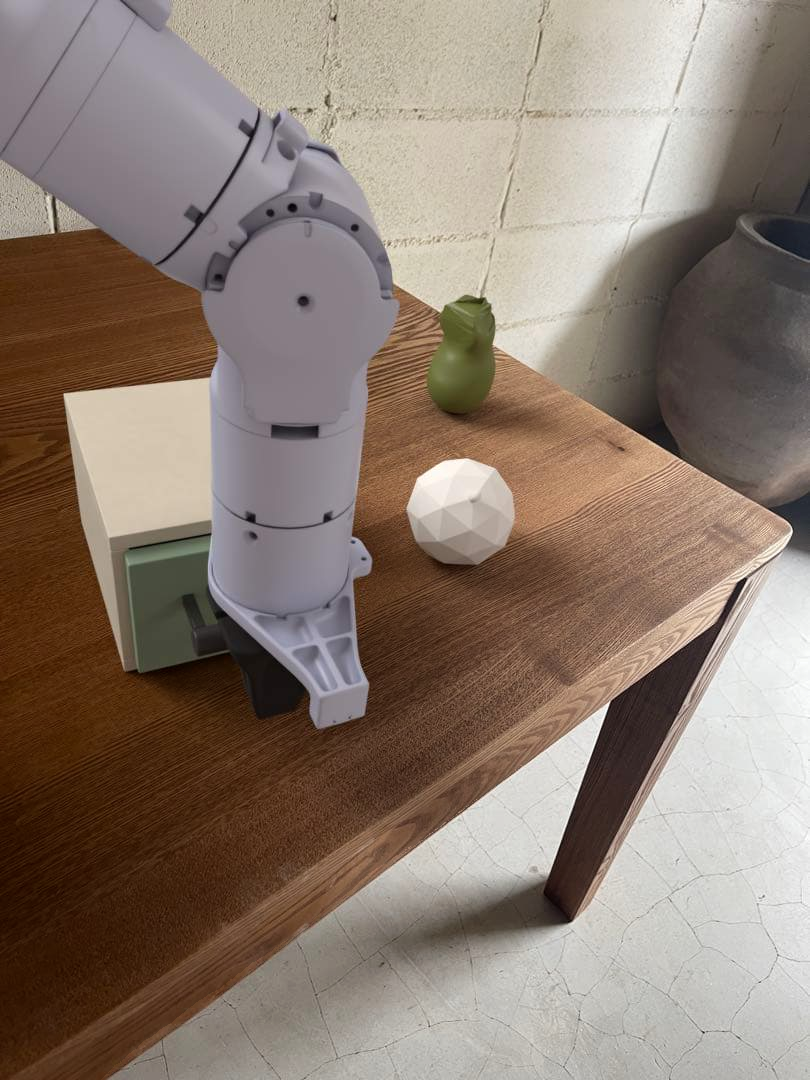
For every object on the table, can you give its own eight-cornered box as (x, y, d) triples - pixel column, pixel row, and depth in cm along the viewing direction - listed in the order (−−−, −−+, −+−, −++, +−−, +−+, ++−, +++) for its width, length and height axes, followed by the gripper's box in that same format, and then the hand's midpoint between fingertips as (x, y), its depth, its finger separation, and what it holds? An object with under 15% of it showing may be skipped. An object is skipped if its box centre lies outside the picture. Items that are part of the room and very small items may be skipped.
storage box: (323, 625, 53) (335, 498, 46) (124, 672, 48) (108, 537, 42) (254, 493, 62) (256, 372, 55) (81, 522, 57) (63, 393, 51)
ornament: (519, 537, 62) (554, 510, 54) (436, 594, 60) (460, 574, 52) (463, 458, 62) (490, 419, 54) (379, 511, 60) (394, 479, 53)
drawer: (346, 678, 48) (360, 574, 43) (155, 729, 44) (146, 620, 39) (256, 504, 59) (258, 405, 54) (96, 531, 55) (82, 427, 50)
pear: (497, 414, 74) (522, 306, 68) (454, 431, 71) (476, 320, 65) (452, 385, 77) (472, 279, 71) (409, 401, 74) (426, 291, 68)
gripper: (459, 582, 31) (409, 799, 39) (314, 380, 40) (299, 590, 49) (270, 627, 28) (261, 850, 37) (162, 398, 37) (175, 618, 46)
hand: (274, 704), depth 43 cm, fingers closed
